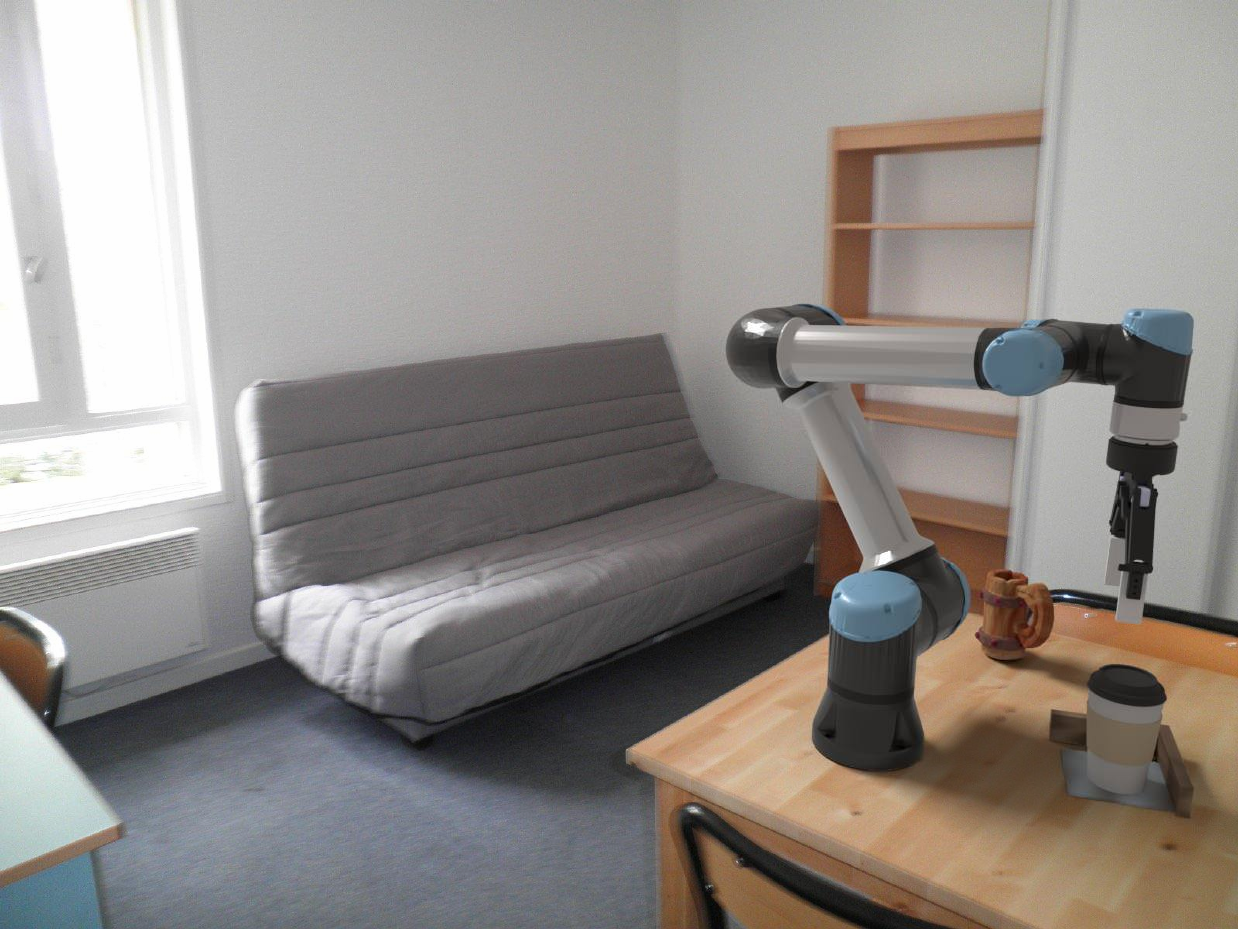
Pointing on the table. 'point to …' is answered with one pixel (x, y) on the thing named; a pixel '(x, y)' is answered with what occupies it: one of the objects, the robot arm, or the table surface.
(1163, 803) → the arena
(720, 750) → the table surface
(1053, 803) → the table surface
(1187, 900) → the table surface
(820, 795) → the table surface
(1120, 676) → the coffee cup
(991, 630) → the mug
